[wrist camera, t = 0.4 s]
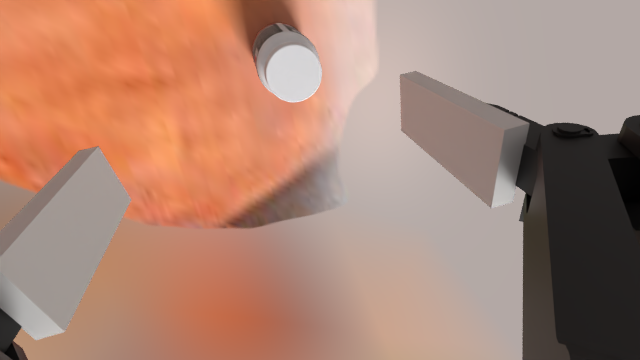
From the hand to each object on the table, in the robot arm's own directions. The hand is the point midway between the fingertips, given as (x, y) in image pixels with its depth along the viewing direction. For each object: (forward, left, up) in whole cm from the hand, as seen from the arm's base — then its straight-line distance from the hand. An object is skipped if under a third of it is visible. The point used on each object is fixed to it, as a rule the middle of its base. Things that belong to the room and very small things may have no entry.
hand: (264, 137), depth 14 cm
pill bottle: (+1, +3, -23) cm, 23 cm away
